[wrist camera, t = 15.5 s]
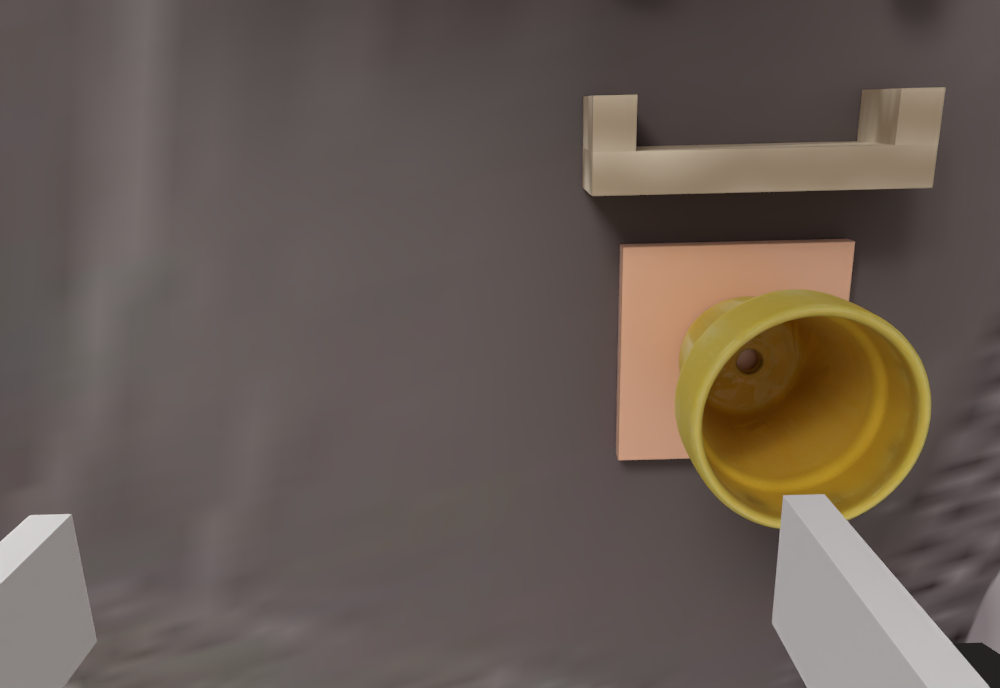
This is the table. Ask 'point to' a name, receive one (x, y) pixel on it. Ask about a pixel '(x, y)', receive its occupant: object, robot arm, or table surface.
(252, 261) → the table surface
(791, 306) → the plant pot
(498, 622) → the table surface
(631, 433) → the tile
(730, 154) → the flower pot holder
